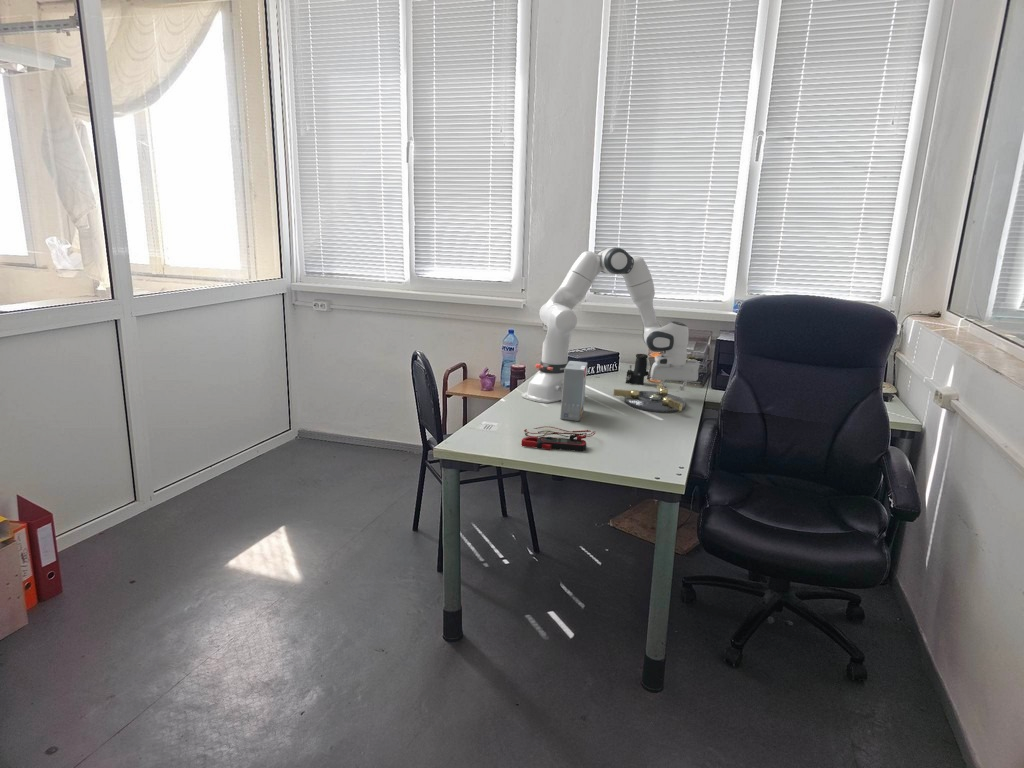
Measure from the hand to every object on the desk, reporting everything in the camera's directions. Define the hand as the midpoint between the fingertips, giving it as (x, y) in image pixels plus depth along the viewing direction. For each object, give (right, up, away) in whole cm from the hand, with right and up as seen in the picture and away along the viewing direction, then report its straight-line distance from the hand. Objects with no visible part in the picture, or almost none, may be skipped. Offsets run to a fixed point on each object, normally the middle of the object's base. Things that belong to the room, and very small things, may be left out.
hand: (672, 389), depth 278 cm
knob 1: (-22, -3, -10) cm, 25 cm away
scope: (-12, +3, +22) cm, 25 cm away
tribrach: (-11, -6, -11) cm, 16 cm away
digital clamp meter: (-55, -17, -59) cm, 82 cm away
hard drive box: (-47, -10, -31) cm, 57 cm away
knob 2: (-6, -7, -22) cm, 24 cm away
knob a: (-5, -1, -1) cm, 6 cm away
